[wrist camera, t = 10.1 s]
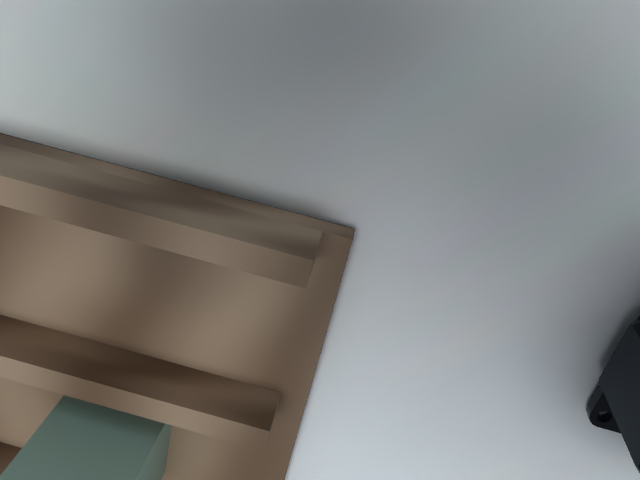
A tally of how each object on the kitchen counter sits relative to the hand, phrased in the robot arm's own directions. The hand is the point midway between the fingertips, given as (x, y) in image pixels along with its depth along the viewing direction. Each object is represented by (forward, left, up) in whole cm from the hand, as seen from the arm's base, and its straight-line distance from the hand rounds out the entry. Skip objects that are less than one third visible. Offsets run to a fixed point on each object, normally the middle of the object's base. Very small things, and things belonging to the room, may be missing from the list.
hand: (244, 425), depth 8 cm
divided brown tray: (+6, +10, -12) cm, 17 cm away
